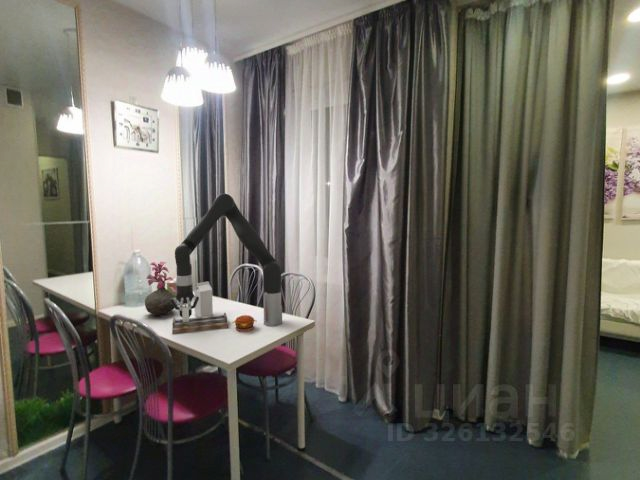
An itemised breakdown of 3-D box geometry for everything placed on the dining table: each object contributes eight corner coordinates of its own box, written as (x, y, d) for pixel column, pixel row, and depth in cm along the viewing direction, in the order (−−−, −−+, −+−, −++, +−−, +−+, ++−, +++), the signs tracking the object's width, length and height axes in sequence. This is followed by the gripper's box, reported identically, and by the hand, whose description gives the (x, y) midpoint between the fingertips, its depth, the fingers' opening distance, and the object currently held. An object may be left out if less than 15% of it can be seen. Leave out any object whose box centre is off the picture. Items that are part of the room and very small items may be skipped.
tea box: (175, 298, 219) (174, 276, 217) (191, 298, 220) (190, 276, 218) (167, 305, 204) (166, 282, 202) (184, 305, 205) (183, 281, 204)
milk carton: (212, 315, 187) (212, 282, 185) (201, 318, 182) (200, 284, 180) (206, 312, 192) (205, 280, 190) (194, 315, 187) (194, 282, 185)
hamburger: (231, 329, 166) (231, 317, 165) (245, 324, 174) (244, 312, 173) (244, 333, 161) (244, 320, 160) (258, 327, 169) (258, 315, 169)
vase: (148, 311, 193) (146, 260, 190) (180, 308, 198) (178, 259, 195) (142, 320, 177) (140, 265, 174) (177, 317, 183) (175, 264, 179)
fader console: (225, 318, 182) (225, 310, 181) (227, 327, 169) (227, 319, 168) (174, 324, 173) (173, 315, 172) (172, 334, 160) (171, 325, 159)
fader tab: (189, 321, 171) (188, 304, 170) (189, 324, 166) (188, 307, 165) (183, 322, 170) (182, 305, 169) (182, 325, 165) (182, 307, 164)
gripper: (199, 280, 172) (200, 313, 174) (169, 282, 167) (171, 315, 169) (199, 284, 165) (200, 317, 167) (168, 286, 160) (170, 320, 162)
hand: (185, 316), depth 168 cm, fingers closed on fader tab, 3 cm apart
